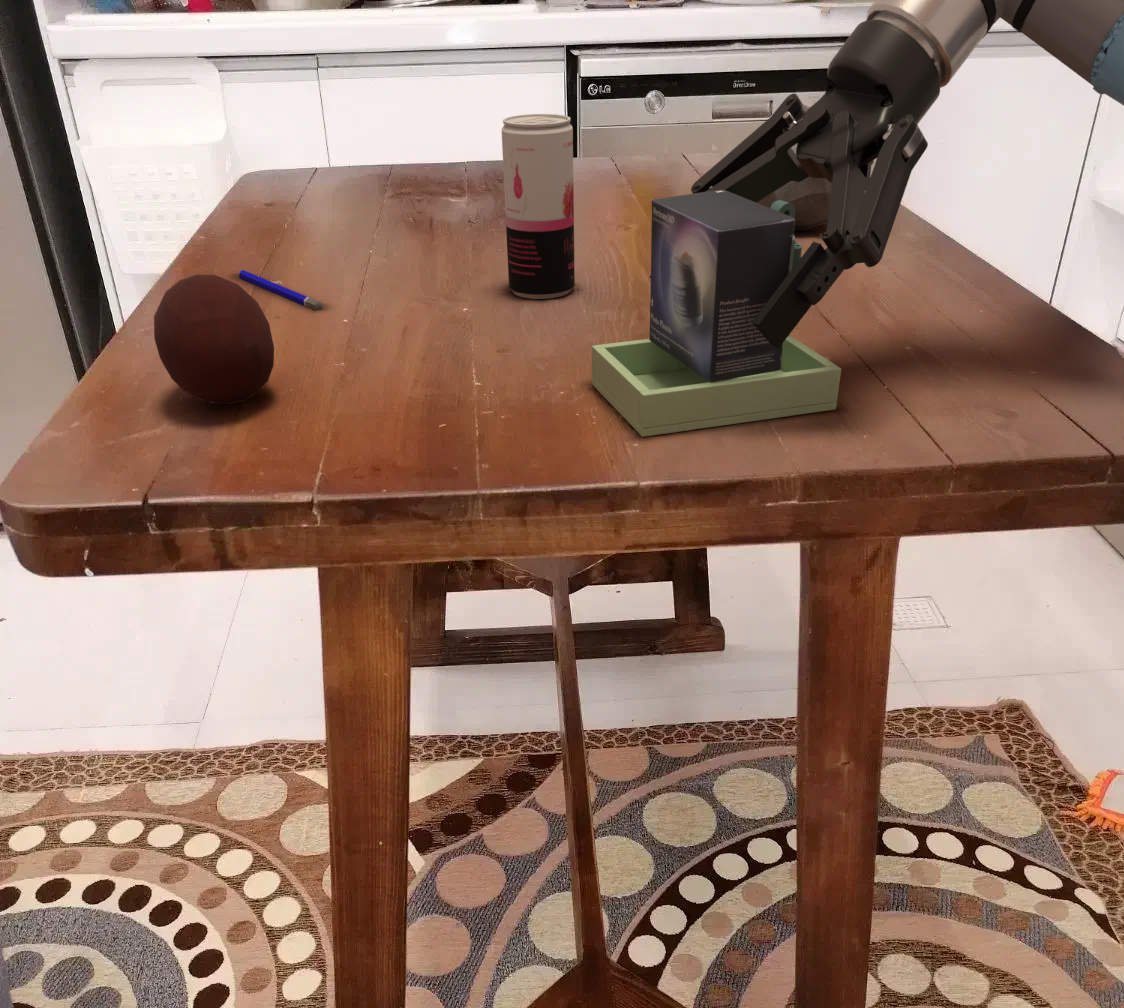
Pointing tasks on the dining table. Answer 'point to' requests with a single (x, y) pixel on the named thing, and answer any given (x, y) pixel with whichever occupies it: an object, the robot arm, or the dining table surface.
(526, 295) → the beverage can
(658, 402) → the tray
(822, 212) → the potted plant
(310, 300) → the pencil
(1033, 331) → the dining table surface
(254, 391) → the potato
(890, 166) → the robot arm
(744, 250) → the small box
